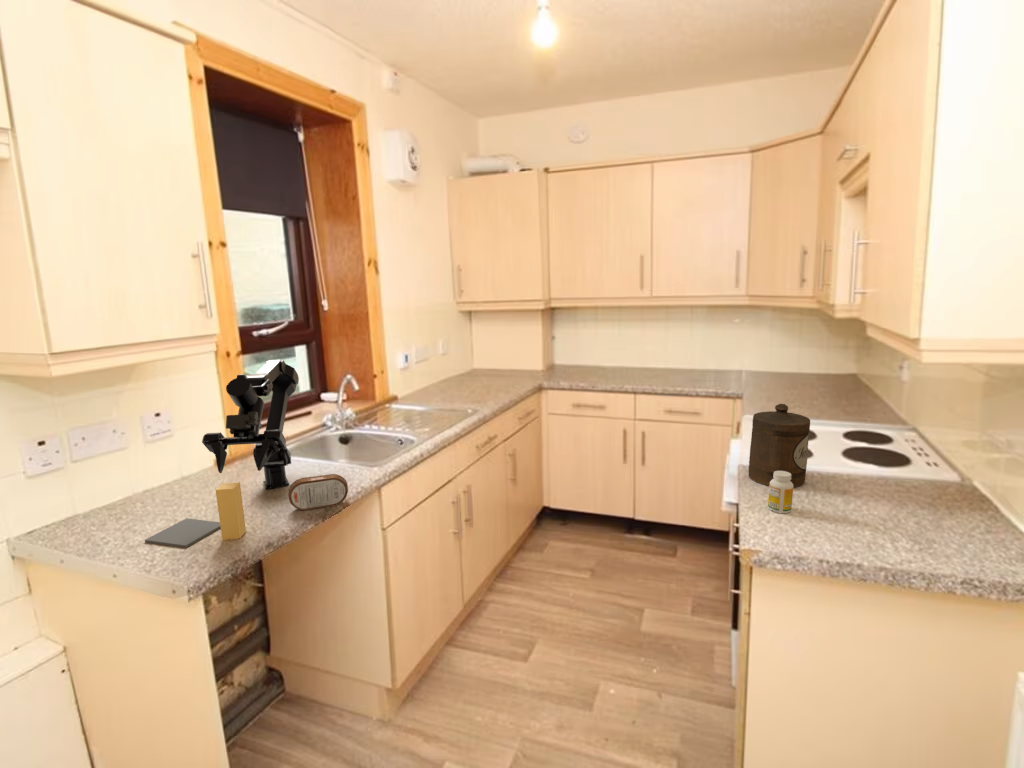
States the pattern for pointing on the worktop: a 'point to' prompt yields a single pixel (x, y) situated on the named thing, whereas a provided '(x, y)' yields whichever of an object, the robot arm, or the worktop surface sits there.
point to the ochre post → (230, 510)
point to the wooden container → (779, 445)
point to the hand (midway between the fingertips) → (239, 471)
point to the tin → (318, 491)
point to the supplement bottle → (780, 492)
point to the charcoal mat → (184, 533)
